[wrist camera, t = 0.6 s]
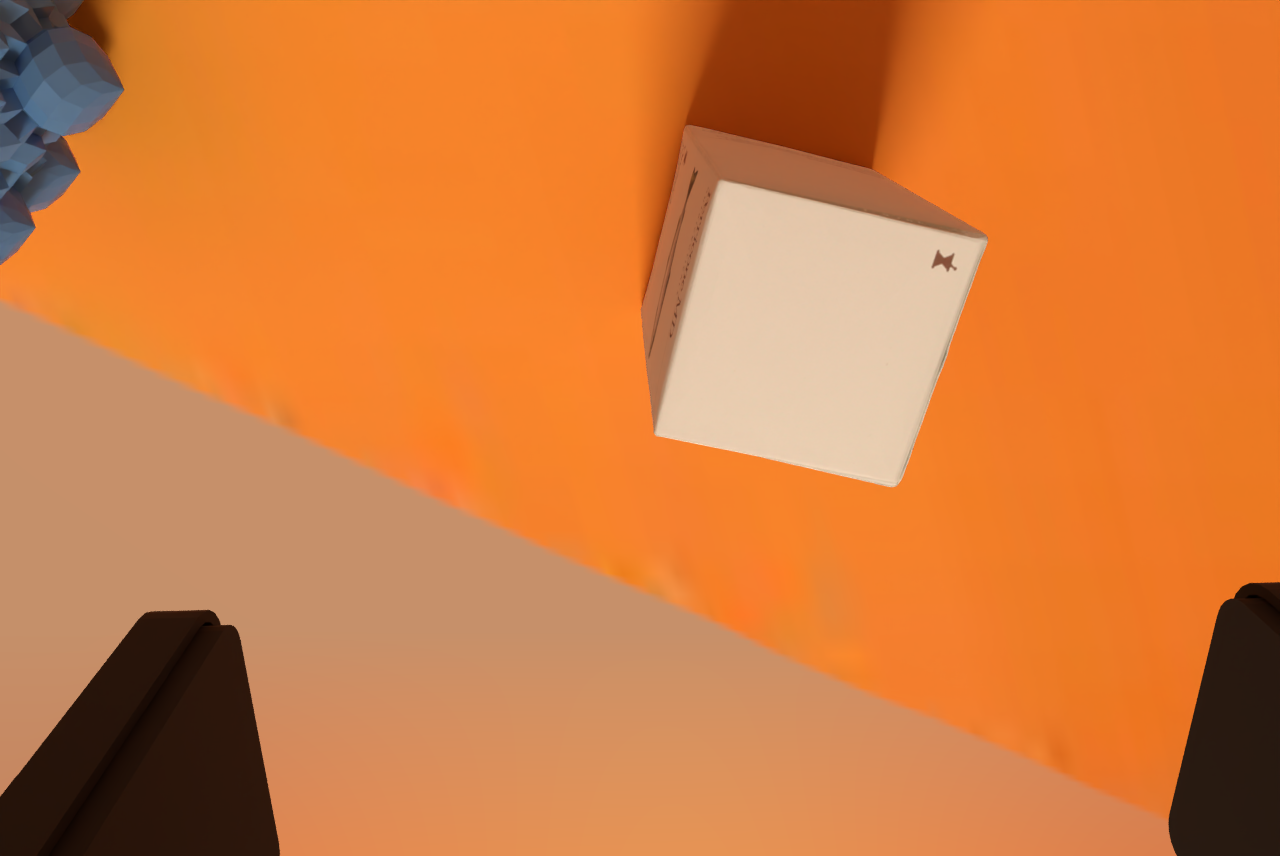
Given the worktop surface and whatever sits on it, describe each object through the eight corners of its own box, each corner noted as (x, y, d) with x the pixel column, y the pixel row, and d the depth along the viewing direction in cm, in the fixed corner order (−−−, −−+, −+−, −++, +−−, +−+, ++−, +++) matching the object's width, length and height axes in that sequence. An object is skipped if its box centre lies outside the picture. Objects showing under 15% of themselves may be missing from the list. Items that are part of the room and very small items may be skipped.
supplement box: (682, 118, 36) (719, 164, 24) (877, 167, 37) (1003, 235, 25) (633, 312, 39) (645, 439, 27) (816, 355, 40) (905, 494, 28)
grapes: (202, 245, 37) (30, 341, 26) (11, 220, 37) (-247, 306, 26) (196, -105, 33) (-11, -169, 22) (-19, -140, 32) (-345, -224, 21)
